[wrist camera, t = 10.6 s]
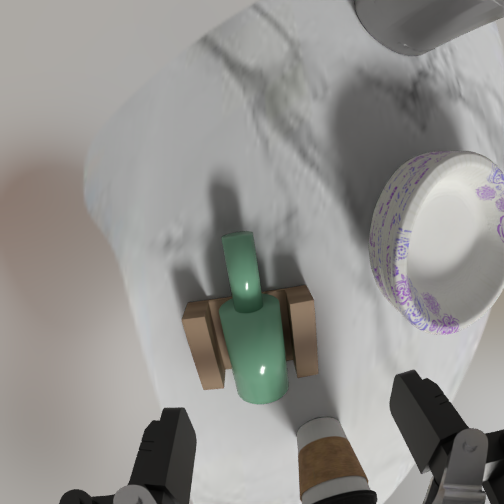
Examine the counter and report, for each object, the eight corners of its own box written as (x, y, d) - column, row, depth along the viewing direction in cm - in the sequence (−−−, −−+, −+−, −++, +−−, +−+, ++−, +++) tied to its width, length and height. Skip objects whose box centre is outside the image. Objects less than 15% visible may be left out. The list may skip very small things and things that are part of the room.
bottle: (236, 374, 29) (206, 233, 25) (283, 366, 29) (265, 224, 25) (238, 407, 24) (202, 249, 20) (293, 398, 24) (274, 237, 20)
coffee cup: (357, 407, 32) (395, 501, 18) (340, 445, 34) (366, 529, 20) (292, 412, 32) (311, 519, 17) (283, 450, 34) (295, 542, 19)
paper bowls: (489, 207, 25) (538, 221, 18) (425, 319, 29) (463, 357, 21) (402, 119, 23) (454, 108, 15) (322, 257, 26) (352, 292, 19)
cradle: (187, 302, 27) (181, 319, 24) (306, 284, 27) (313, 300, 24) (206, 369, 29) (203, 389, 26) (311, 354, 29) (318, 373, 26)
